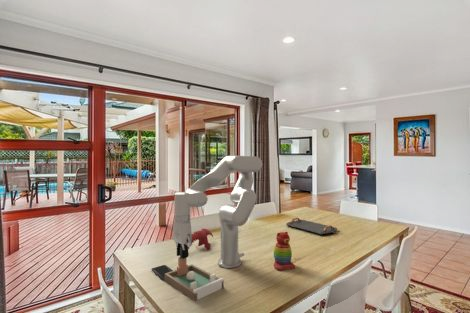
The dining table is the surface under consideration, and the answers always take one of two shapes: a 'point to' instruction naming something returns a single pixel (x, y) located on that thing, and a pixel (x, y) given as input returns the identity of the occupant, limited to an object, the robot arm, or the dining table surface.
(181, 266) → the kicker
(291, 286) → the dining table surface
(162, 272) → the phone
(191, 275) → the ball
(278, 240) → the stacking bear
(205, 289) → the pitch
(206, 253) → the dining table surface
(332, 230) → the serving board
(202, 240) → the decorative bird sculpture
